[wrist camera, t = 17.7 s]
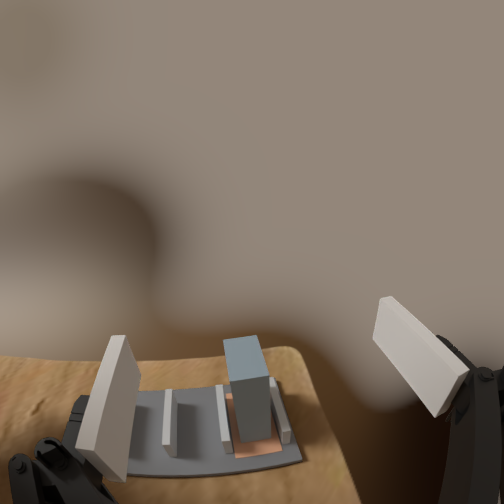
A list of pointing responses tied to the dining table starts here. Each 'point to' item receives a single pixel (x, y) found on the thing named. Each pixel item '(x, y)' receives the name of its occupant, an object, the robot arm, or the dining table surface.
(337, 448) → the dining table surface
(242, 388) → the tall grey pillar
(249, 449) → the rack
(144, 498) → the dining table surface
